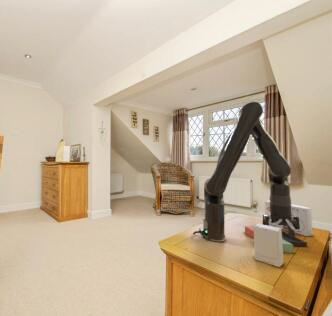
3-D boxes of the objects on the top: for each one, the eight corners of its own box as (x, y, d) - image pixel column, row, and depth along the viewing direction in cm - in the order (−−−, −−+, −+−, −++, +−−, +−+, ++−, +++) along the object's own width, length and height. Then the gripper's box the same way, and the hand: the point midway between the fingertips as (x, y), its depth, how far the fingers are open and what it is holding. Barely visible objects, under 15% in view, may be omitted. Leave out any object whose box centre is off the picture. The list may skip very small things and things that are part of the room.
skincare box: (264, 224, 128) (264, 200, 128) (269, 223, 130) (269, 200, 130) (307, 236, 108) (307, 208, 108) (313, 235, 110) (312, 207, 110)
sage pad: (279, 252, 90) (279, 243, 90) (268, 245, 98) (268, 237, 98) (293, 253, 89) (293, 244, 89) (280, 245, 97) (280, 238, 97)
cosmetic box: (283, 263, 80) (283, 228, 80) (279, 268, 77) (279, 231, 77) (258, 255, 87) (258, 222, 87) (253, 259, 84) (253, 225, 84)
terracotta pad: (252, 238, 106) (252, 230, 106) (244, 232, 114) (244, 226, 114) (264, 238, 106) (264, 231, 106) (255, 233, 113) (255, 226, 113)
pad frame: (280, 245, 98) (280, 240, 98) (255, 231, 116) (255, 227, 116) (306, 246, 96) (306, 242, 96) (278, 232, 114) (278, 228, 114)
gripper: (290, 202, 96) (291, 235, 96) (258, 201, 99) (259, 233, 98) (304, 206, 89) (305, 241, 89) (269, 205, 91) (269, 239, 91)
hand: (280, 237), depth 94 cm, fingers open, 8 cm apart
